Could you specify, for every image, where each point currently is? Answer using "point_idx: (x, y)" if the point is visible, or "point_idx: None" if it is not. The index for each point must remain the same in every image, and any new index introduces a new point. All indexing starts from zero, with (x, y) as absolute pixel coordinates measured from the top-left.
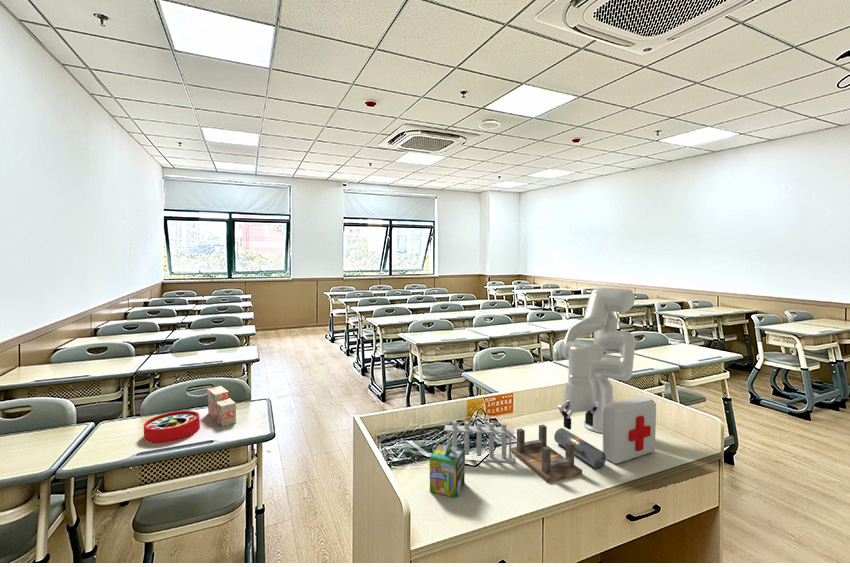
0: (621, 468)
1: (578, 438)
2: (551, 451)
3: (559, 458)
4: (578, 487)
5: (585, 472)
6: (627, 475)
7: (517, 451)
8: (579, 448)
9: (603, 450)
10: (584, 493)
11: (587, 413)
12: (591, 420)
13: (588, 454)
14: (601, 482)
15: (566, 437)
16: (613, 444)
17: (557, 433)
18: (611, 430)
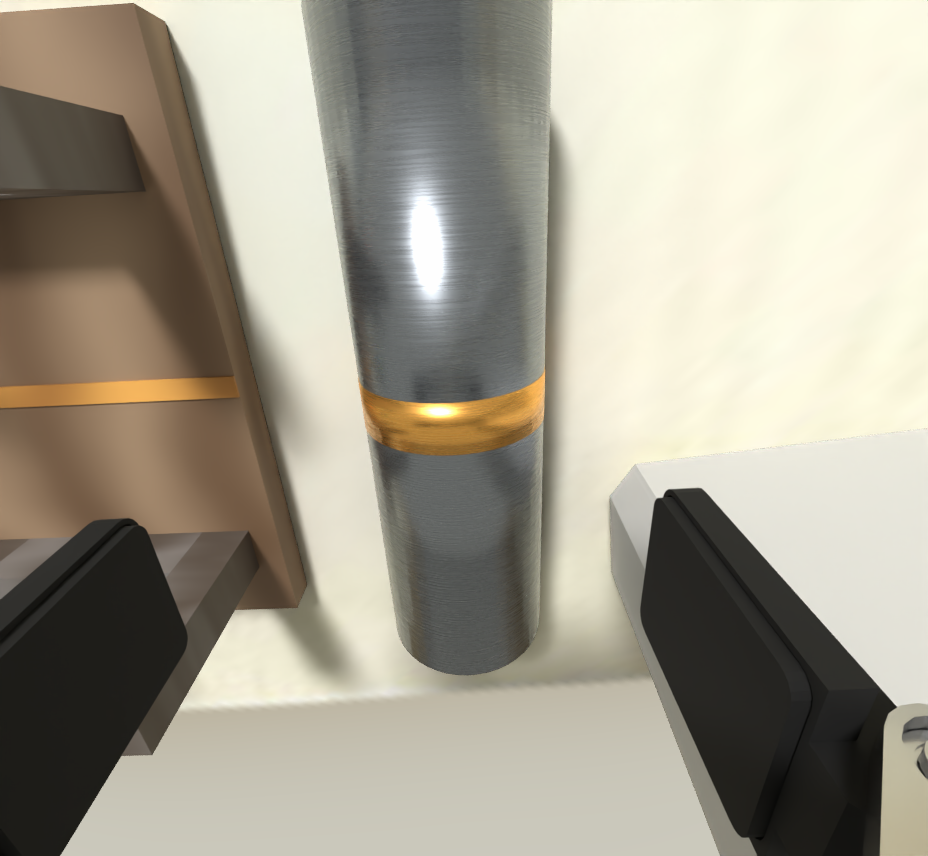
0: (613, 598)
1: (458, 414)
2: (171, 297)
3: (197, 437)
4: (212, 665)
5: (343, 572)
6: (576, 656)
7: None
8: (380, 504)
9: (628, 518)
10: (218, 703)
11: (802, 752)
12: (693, 715)
13: (395, 601)
14: (372, 665)
15: (359, 276)
16: (659, 694)
17: (318, 53)
18: (729, 845)
